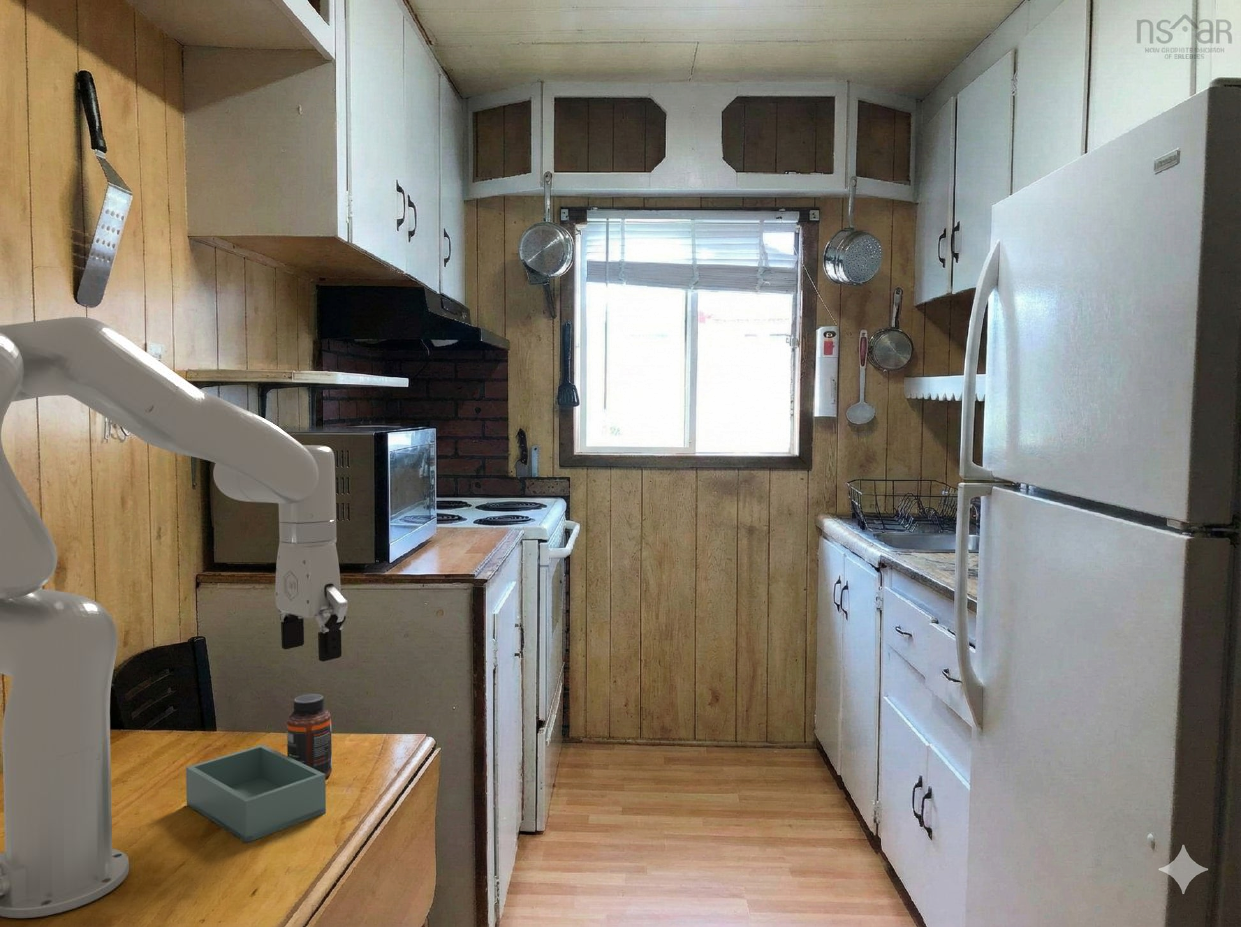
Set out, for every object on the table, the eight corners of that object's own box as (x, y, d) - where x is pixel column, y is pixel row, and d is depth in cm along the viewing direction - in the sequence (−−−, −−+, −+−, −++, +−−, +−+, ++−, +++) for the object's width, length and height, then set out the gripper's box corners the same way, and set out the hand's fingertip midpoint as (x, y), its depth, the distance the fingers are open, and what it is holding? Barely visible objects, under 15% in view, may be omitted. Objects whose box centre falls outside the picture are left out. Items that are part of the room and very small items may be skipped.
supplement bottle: (339, 769, 121) (338, 692, 121) (320, 786, 115) (319, 705, 115) (299, 767, 122) (299, 690, 121) (279, 784, 116) (278, 703, 115)
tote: (246, 843, 99) (245, 801, 99) (186, 805, 109) (186, 767, 109) (325, 812, 107) (325, 774, 107) (263, 779, 117) (262, 744, 117)
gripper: (251, 531, 120) (255, 648, 121) (317, 541, 109) (320, 670, 110) (300, 525, 126) (303, 637, 127) (367, 535, 115) (369, 658, 116)
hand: (311, 653), depth 118 cm, fingers open, 9 cm apart
